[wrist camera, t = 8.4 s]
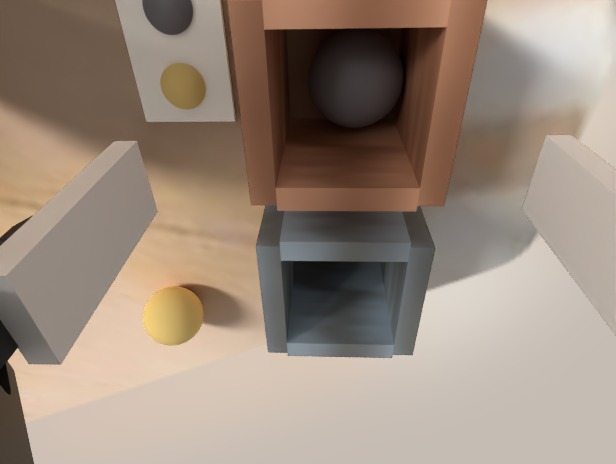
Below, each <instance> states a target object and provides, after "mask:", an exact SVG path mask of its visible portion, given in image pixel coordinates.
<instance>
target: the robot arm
mask: <svg viewBox="0 0 616 464" xmlns="http://www.w3.org/2000/svg"><path fill="white" fill-rule="evenodd" d="M522 211H523V212H524V214H525V215H526V216H527V218H528V219H529V220H530V222H531V223H532V224H533V226H534V227H535V228H536V230H537V231H538V232H539V234H540V235H541V236H542V238H543V239H544V240H545V242H546V243H547V244H548V245H549V247H550V248H551V250H552V251H553V252H554V254H555V255H556V256H557V258H558V259H559V260H560V262H561V263H562V264H563V266H564V267H565V268H566V270H567V271H568V272H569V274H570V275H571V276H572V278H573V279H574V280H575V282H576V283H577V284H578V285H579V287H580V288H581V290H582V291H583V292H584V294H585V295H586V296H587V298H588V299H589V300H590V302H591V303H592V304H593V306H594V307H595V308H596V310H597V311H598V312H599V314H600V315H601V316H602V318H603V319H604V320H605V322H606V323H607V324H608V326H609V327H610V328H611V330H612V331H613V332H614V334H615V335H616V169H615V168H614V167H613V166H611V165H610V164H609V163H607V162H606V161H605V160H603V159H602V158H601V157H599V156H598V155H597V154H596V153H594V152H593V151H591V150H590V149H589V148H587V147H586V146H585V145H583V144H582V143H581V142H580V141H578V140H577V139H576V138H575V137H573V136H572V135H546V137H545V140H544V144H543V147H542V150H541V153H540V156H539V159H538V162H537V165H536V168H535V171H534V174H533V177H532V180H531V183H530V186H529V189H528V192H527V195H526V198H525V201H524V204H523V207H522ZM157 212H158V211H157V208H156V205H155V201H154V198H153V194H152V191H151V187H150V184H149V180H148V177H147V174H146V170H145V167H144V163H143V160H142V156H141V153H140V150H139V146H138V143H137V141H114V142H113V143H112V144H111V145H109V146H108V147H107V148H106V149H105V150H104V151H103V152H102V153H101V154H100V155H99V156H97V157H96V158H95V159H94V160H93V161H92V162H91V163H90V164H89V165H88V166H87V167H86V168H84V169H83V170H82V171H81V172H80V173H79V174H78V175H77V176H76V177H75V178H74V179H72V180H71V181H70V182H69V183H68V184H67V185H66V186H65V187H64V188H63V189H62V190H61V191H59V192H58V193H57V194H56V195H55V196H54V197H53V198H52V199H51V200H50V201H49V202H47V203H46V204H45V205H44V206H43V207H42V208H41V209H40V210H39V211H38V212H37V213H36V214H34V215H33V216H31V217H29V218H27V219H25V220H24V221H22V222H20V223H18V224H16V225H15V226H13V227H12V228H11V229H9V230H8V231H7V232H6V233H5V234H4V235H3V236H2V237H1V238H0V464H34V462H33V457H32V452H31V448H30V443H29V439H28V434H27V429H26V424H25V420H24V415H23V410H22V405H21V401H20V396H19V391H18V387H17V382H16V377H15V373H14V370H13V368H12V367H11V365H10V364H9V363H8V359H9V358H10V357H11V356H12V354H13V353H14V352H15V350H16V349H17V348H18V349H19V350H20V352H21V353H22V355H23V356H24V358H25V359H26V360H27V362H28V363H29V364H61V363H62V362H63V360H64V359H65V357H66V355H67V354H68V352H69V351H70V349H71V348H72V346H73V344H74V343H75V341H76V340H77V338H78V337H79V335H80V333H81V332H82V330H83V329H84V327H85V325H86V324H87V322H88V321H89V319H90V318H91V316H92V314H93V313H94V311H95V310H96V308H97V307H98V305H99V303H100V302H101V300H102V299H103V297H104V295H105V294H106V292H107V291H108V289H109V288H110V286H111V284H112V283H113V281H114V280H115V278H116V276H117V275H118V273H119V272H120V270H121V269H122V267H123V265H124V264H125V262H126V261H127V259H128V258H129V256H130V254H131V253H132V251H133V250H134V248H135V246H136V245H137V243H138V242H139V240H140V239H141V237H142V235H143V234H144V232H145V231H146V229H147V228H148V226H149V224H150V223H151V221H152V220H153V218H154V216H155V215H156V213H157Z"/></svg>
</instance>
